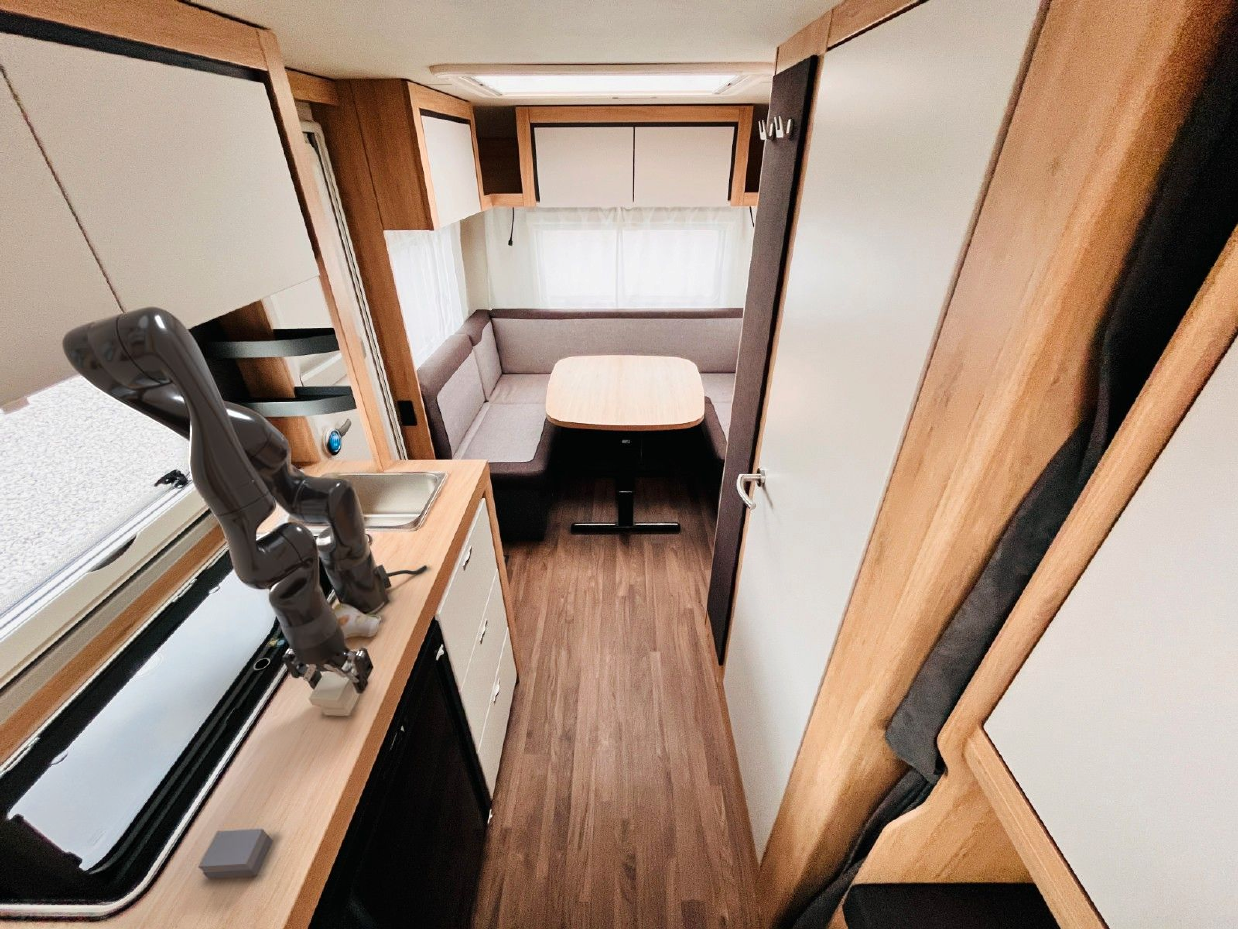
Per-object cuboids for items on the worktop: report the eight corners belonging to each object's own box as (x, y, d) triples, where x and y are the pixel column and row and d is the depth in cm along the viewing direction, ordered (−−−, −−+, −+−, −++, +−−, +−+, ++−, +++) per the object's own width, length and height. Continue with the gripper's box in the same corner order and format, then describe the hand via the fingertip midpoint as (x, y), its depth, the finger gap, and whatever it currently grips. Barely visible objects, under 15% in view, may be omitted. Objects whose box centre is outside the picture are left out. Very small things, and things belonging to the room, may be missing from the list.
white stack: (343, 682, 98) (336, 669, 96) (365, 683, 98) (359, 670, 95) (325, 715, 92) (318, 702, 90) (348, 716, 92) (342, 703, 90)
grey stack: (208, 879, 72) (196, 867, 69) (227, 843, 75) (216, 830, 73) (256, 876, 72) (245, 864, 70) (273, 840, 76) (262, 828, 73)
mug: (378, 647, 105) (339, 625, 99) (347, 652, 109) (307, 633, 103) (392, 613, 110) (355, 591, 104) (362, 620, 114) (325, 599, 108)
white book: (340, 706, 89) (337, 700, 88) (312, 705, 90) (308, 698, 88) (361, 669, 96) (358, 662, 95) (334, 667, 96) (331, 661, 95)
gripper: (365, 612, 87) (388, 672, 96) (283, 610, 88) (314, 669, 97) (343, 649, 81) (370, 709, 90) (256, 646, 82) (291, 706, 90)
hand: (341, 688), depth 93 cm, fingers open, 7 cm apart
